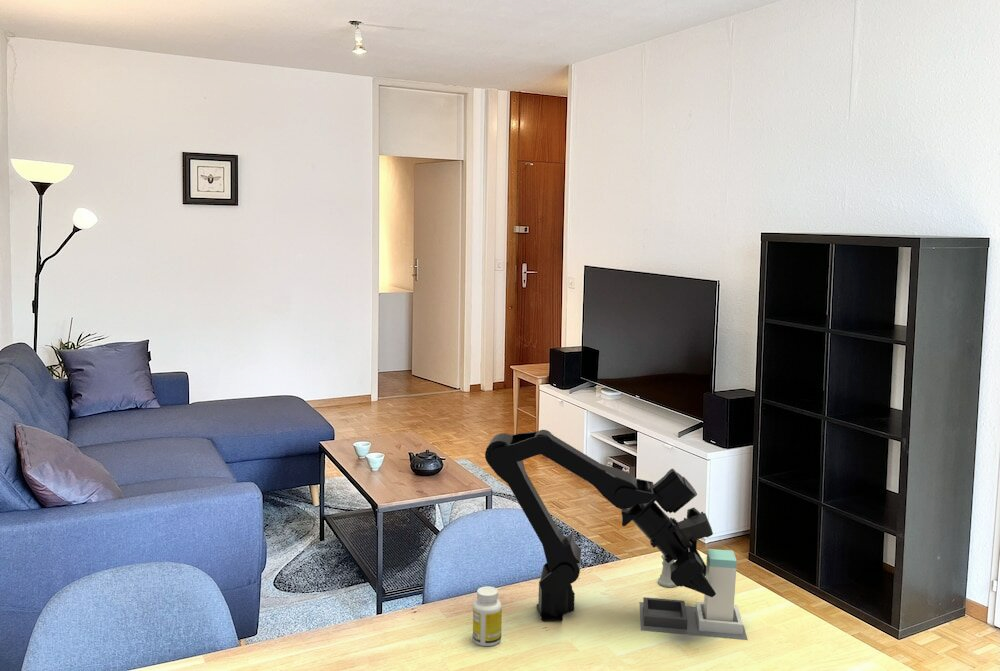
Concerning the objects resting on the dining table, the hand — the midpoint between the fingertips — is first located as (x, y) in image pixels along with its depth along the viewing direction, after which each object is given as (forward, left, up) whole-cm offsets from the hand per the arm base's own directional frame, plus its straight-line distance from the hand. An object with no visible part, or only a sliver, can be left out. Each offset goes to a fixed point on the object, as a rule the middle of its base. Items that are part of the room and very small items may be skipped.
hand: (711, 585), depth 161 cm
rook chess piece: (-2, +17, -9) cm, 20 cm away
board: (-3, +1, -9) cm, 9 cm away
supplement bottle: (-44, -1, -9) cm, 45 cm away
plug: (+2, 0, -8) cm, 8 cm away
